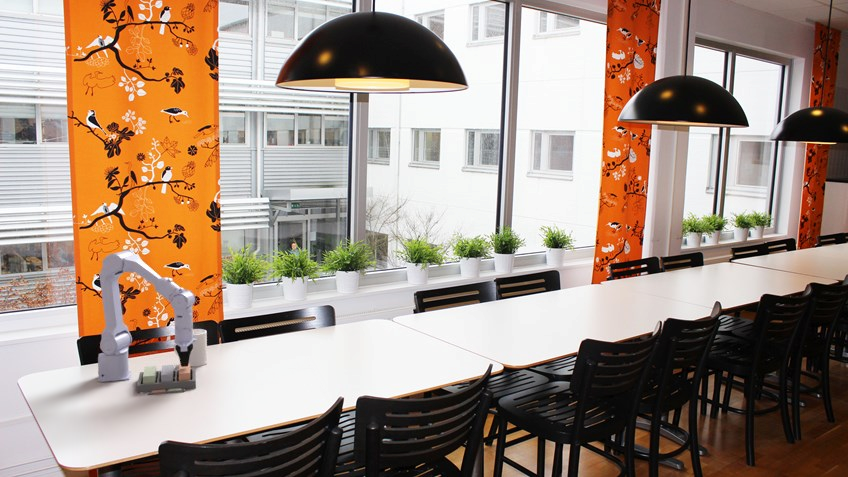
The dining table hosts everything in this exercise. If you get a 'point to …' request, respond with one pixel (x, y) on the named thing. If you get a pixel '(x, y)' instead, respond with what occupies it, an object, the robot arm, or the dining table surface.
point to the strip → (166, 391)
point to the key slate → (167, 373)
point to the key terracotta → (184, 373)
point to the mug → (198, 349)
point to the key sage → (149, 375)
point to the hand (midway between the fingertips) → (184, 366)
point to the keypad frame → (166, 385)
